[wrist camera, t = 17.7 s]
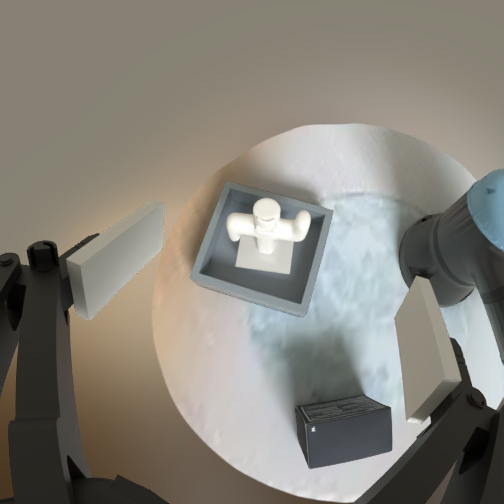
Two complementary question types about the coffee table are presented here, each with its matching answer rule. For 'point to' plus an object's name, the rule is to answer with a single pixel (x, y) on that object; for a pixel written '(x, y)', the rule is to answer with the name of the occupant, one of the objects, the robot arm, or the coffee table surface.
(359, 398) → the small box
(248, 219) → the figurine
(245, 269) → the tray
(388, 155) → the coffee table surface
